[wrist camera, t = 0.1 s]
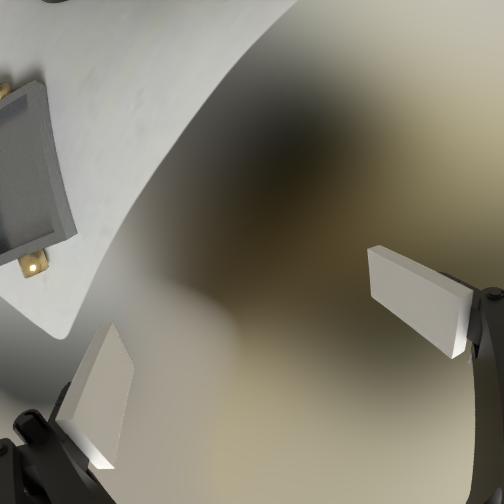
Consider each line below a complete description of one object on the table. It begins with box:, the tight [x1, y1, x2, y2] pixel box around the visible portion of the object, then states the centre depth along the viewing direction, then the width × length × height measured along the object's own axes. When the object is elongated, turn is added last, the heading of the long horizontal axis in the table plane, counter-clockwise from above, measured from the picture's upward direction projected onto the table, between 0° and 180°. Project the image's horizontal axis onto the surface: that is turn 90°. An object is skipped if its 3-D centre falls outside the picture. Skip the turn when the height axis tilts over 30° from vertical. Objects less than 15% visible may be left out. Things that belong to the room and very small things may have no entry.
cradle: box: [0, 80, 77, 278], centre depth 31 cm, size 29×16×4 cm, turn 13°
